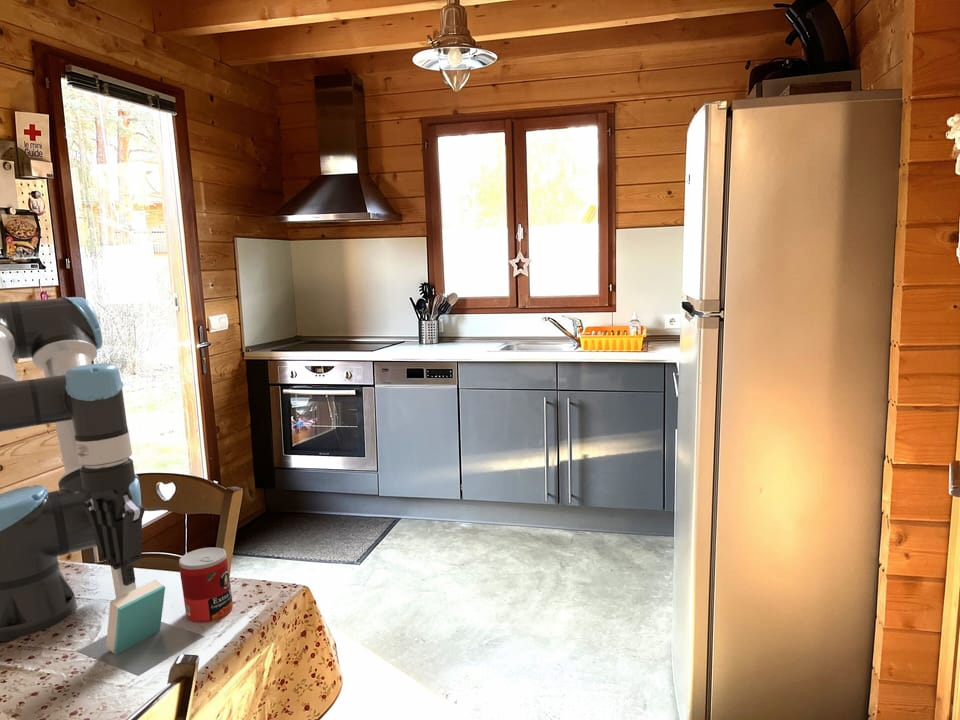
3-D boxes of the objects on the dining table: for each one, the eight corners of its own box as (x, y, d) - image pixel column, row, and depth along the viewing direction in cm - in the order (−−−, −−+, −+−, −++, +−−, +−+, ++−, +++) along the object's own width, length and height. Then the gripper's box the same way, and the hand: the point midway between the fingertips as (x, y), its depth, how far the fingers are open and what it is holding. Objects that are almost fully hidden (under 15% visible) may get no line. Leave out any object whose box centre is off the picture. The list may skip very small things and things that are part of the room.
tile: (106, 646, 114) (110, 601, 111) (150, 622, 121) (155, 579, 118) (115, 655, 113) (120, 609, 110) (159, 630, 120) (165, 586, 117)
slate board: (77, 654, 115) (76, 651, 115) (144, 619, 125) (143, 615, 125) (139, 679, 107) (138, 675, 107) (205, 639, 117) (204, 635, 117)
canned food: (218, 627, 121) (210, 566, 119) (176, 625, 122) (168, 565, 121) (242, 604, 128) (235, 547, 126) (202, 602, 130) (195, 546, 128)
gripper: (59, 464, 112) (81, 604, 116) (108, 472, 105) (130, 620, 109) (104, 452, 118) (124, 584, 122) (153, 458, 112) (173, 598, 115)
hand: (127, 601), depth 115 cm, fingers closed
